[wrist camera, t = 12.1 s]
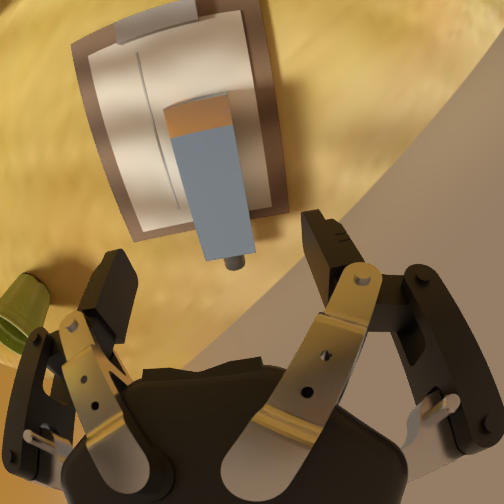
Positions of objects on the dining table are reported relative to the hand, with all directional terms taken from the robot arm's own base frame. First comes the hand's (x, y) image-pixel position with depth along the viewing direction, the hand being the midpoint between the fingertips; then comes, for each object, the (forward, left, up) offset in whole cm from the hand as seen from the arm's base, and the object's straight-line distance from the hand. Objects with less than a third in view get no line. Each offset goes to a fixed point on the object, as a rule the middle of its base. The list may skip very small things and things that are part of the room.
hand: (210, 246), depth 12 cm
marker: (+2, 0, -11) cm, 12 cm away
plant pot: (+10, -29, -13) cm, 33 cm away
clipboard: (-4, -2, -12) cm, 13 cm away
